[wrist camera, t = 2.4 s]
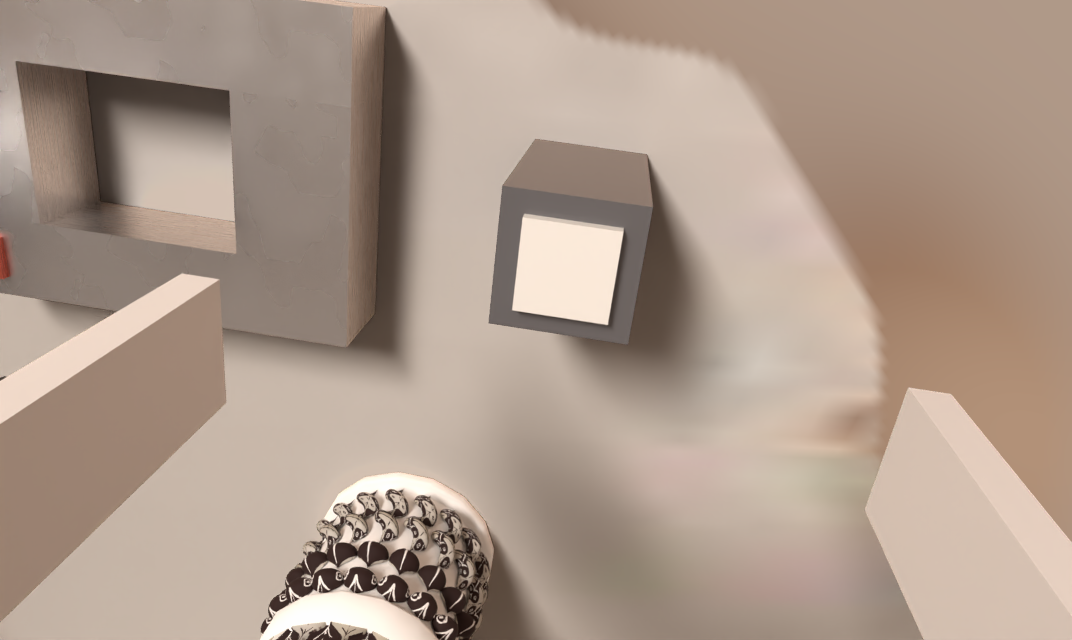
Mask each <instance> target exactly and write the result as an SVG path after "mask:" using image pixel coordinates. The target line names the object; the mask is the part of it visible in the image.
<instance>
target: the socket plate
mask: <svg viewBox="0 0 1072 640" xmlns="http://www.w3.org/2000/svg"><path fill="white" fill-rule="evenodd" d="M385 16H386V7H382V6H374V5H366V4H359V3H351V2H343V1H336V0H0V293H5V294H11V295H18V296H24V297H30V298H37V299H43V300H49V301H55V302H62V303H68V304H74V305H81V306H87V307H93V308H100V309H106V310H112V311H119V310H121V309H123V308H124V307H126V306H128V305H129V304H131V303H133V302H134V301H136V300H138V299H139V298H141V297H143V296H145V295H146V294H148V293H150V292H151V291H153V290H155V289H156V288H158V287H160V286H161V285H163V284H165V283H167V282H168V281H170V280H172V279H173V278H175V277H177V276H178V275H180V274H188V275H195V276H201V277H208V278H214V279H220V298H221V316H222V328H226V329H232V330H238V331H245V332H251V333H257V334H264V335H270V336H276V337H283V338H289V339H295V340H301V341H308V342H314V343H320V344H327V345H333V346H339V347H346V348H347V346H348V345H349V344H350V343H351V342H352V340H353V339H354V338H355V337H356V336H357V334H358V333H359V332H360V331H361V329H362V328H363V327H364V326H365V325H366V323H367V322H368V321H369V320H370V319H371V317H372V316H373V315H374V314H375V301H376V273H377V244H378V216H379V187H380V159H381V130H382V102H383V73H384V45H385ZM85 71H92V72H99V73H107V74H114V75H121V76H128V77H135V78H143V79H150V80H157V81H164V82H171V83H178V84H186V85H193V86H200V87H207V88H214V89H222V90H229V93H230V116H231V140H232V163H233V186H234V209H235V222H233V221H226V220H220V219H213V218H206V217H200V216H193V215H186V214H180V213H173V212H166V211H160V210H153V209H146V208H140V207H133V206H126V205H119V204H113V203H106V202H100V194H99V185H98V177H97V168H96V159H95V151H94V142H93V133H92V124H91V116H90V107H89V98H88V90H87V81H86V72H85Z"/></svg>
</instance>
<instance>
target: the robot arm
mask: <svg viewBox="0 0 1072 640" xmlns="http://www.w3.org/2000/svg"><path fill="white" fill-rule="evenodd" d="M225 403H226V389H225V371H224V352H223V334H222V316H221V298H220V279H214V278H208V277H201V276H195V275H188V274H180V275H178V276H177V277H175V278H173V279H172V280H170V281H168V282H167V283H165V284H163V285H161V286H160V287H158V288H156V289H155V290H153V291H151V292H150V293H148V294H146V295H145V296H143V297H141V298H139V299H138V300H136V301H134V302H133V303H131V304H129V305H128V306H126V307H124V308H123V309H121V310H119V311H117V312H116V313H114V314H112V315H111V316H109V317H107V318H106V319H104V320H102V321H101V322H99V323H97V324H96V325H94V326H92V327H90V328H89V329H87V330H85V331H84V332H82V333H80V334H79V335H77V336H75V337H74V338H72V339H70V340H68V341H67V342H65V343H63V344H62V345H60V346H58V347H57V348H55V349H53V350H52V351H50V352H48V353H46V354H45V355H43V356H41V357H40V358H38V359H36V360H35V361H33V362H31V363H30V364H28V365H26V366H25V367H23V368H21V369H19V370H18V371H16V372H14V373H13V374H11V375H9V376H8V377H5V376H4V377H1V378H0V622H1V621H2V620H3V619H4V618H5V617H6V616H7V615H8V614H9V613H10V612H11V611H12V610H13V609H14V608H15V607H16V606H17V605H18V604H19V603H20V602H21V601H23V600H24V599H25V598H26V597H27V596H28V595H29V594H30V593H31V592H32V591H33V590H34V589H35V588H36V587H37V586H38V585H39V584H40V583H41V582H42V581H43V580H44V579H45V578H46V577H47V576H48V575H49V574H50V573H51V572H52V571H53V570H54V569H55V568H56V567H58V566H59V565H60V564H61V563H62V562H63V561H64V560H65V559H66V558H67V557H68V556H69V555H70V554H71V553H72V552H73V551H74V550H75V549H76V548H77V547H78V546H79V545H80V544H81V543H82V542H83V541H84V540H85V539H86V538H87V537H88V536H89V535H90V534H91V533H92V532H94V531H95V530H96V529H97V528H98V527H99V526H100V525H101V524H102V523H103V522H104V521H105V520H106V519H107V518H108V517H109V516H110V515H111V514H112V513H113V512H114V511H115V510H116V509H117V508H118V507H119V506H120V505H121V504H122V503H123V502H124V501H125V500H126V499H127V498H129V497H130V496H131V495H132V494H133V493H134V492H135V491H136V490H137V489H138V488H139V487H140V486H141V485H142V484H143V483H144V482H145V481H146V480H147V479H148V478H149V477H150V476H151V475H152V474H153V473H154V472H155V471H156V470H157V469H158V468H159V467H160V466H161V465H162V464H164V463H165V462H166V461H167V460H168V459H169V458H170V457H171V456H172V455H173V454H174V453H175V452H176V451H177V450H178V449H179V448H180V447H181V446H182V445H183V444H184V443H185V442H186V441H187V440H188V439H189V438H190V437H191V436H192V435H193V434H194V433H195V432H196V431H197V430H199V429H200V428H201V427H202V426H203V425H204V424H205V423H206V422H207V421H208V420H209V419H210V418H211V417H212V416H213V415H214V414H215V413H216V412H217V411H218V410H219V409H220V408H221V407H222V406H223V405H224V404H225ZM865 512H866V514H867V516H868V518H869V521H870V523H871V525H872V527H873V529H874V532H875V534H876V536H877V538H878V540H879V543H880V545H881V547H882V549H883V551H884V554H885V556H886V558H887V560H888V562H889V565H890V567H891V569H892V571H893V573H894V576H895V578H896V580H897V582H898V584H899V587H900V589H901V591H902V593H903V595H904V598H905V600H906V602H907V604H908V606H909V609H910V611H911V613H912V615H913V617H914V620H915V622H916V624H917V626H918V628H919V631H920V633H921V635H922V637H923V639H924V640H1072V543H1071V541H1070V540H1069V539H1068V538H1067V537H1066V535H1065V534H1064V533H1063V531H1062V530H1061V529H1060V528H1059V527H1058V525H1057V524H1056V523H1055V522H1054V520H1052V518H1051V517H1050V515H1049V514H1048V513H1047V512H1046V511H1045V509H1044V508H1043V507H1042V506H1041V504H1040V503H1039V502H1038V501H1037V499H1036V498H1035V497H1034V496H1033V494H1032V493H1031V492H1030V491H1029V490H1028V488H1027V487H1026V486H1025V485H1024V484H1023V482H1022V481H1021V480H1020V478H1019V477H1018V476H1017V475H1016V473H1015V472H1014V471H1013V470H1012V469H1011V467H1010V466H1009V465H1008V464H1007V462H1006V461H1005V460H1004V459H1003V458H1002V457H1001V455H1000V454H999V453H998V452H997V450H996V449H995V448H994V446H993V445H992V444H991V443H990V441H989V440H988V439H987V438H986V437H985V435H984V434H983V433H982V432H981V430H980V429H979V428H978V427H977V425H976V424H975V423H974V422H973V421H972V419H971V418H970V417H969V416H968V414H966V412H965V411H964V409H963V408H962V407H961V406H960V405H959V404H958V402H957V401H956V400H955V398H954V397H953V396H952V395H951V394H947V393H939V392H934V391H927V390H921V389H914V388H908V390H907V392H906V395H905V398H904V401H903V404H902V407H901V409H900V412H899V415H898V418H897V421H896V423H895V426H894V429H893V432H892V434H891V437H890V440H889V443H888V446H887V448H886V451H885V454H884V457H883V460H882V463H881V465H880V468H879V471H878V474H877V477H876V479H875V482H874V485H873V488H872V491H871V493H870V496H869V499H868V502H867V505H866V507H865Z"/></svg>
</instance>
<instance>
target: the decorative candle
mask: <svg viewBox="0 0 1072 640" xmlns="http://www.w3.org/2000/svg"><path fill="white" fill-rule="evenodd" d="M317 530H318V531H319V532H320V535H321V536H322V537H323V538H322V541H321V542H317V541H309V542H307V543H306V544H305V545H304V546H303V553H304V554H305V555H306V557H305V558H304V560H303V562H302V563H299V564H297V565H296V567H295V569H293V570H291V571H290V572H289V573H288V575H287V577H286V580H285V585H286V590H284V591H282V593H281V594H279V595H277V596H276V597H274V598H273V600H272V601H271V602H270V605H269V608H268V613H269V617H268V618H266V619H265V620H264V622H263V624H262V626H261V635H262V637H261V639H260V640H471V637H472V634H473V633H475V632H476V631H477V630H478V628H479V627H480V624H481V622H482V617H483V610H482V605H483V604H484V602H485V601H486V598H487V596H488V581H489V577H490V572H491V566H492V560H493V554H494V547H493V544H492V541H491V538H490V534H489V531H488V528H487V525H486V522H485V520H484V519H483V518H482V517H481V516H480V514H479V513H478V512H477V511H476V510H475V509H474V507H473V506H472V505H471V504H470V503H469V502H468V500H467V499H466V498H465V497H464V496H463V495H461V494H459V493H457V492H456V491H454V490H452V489H450V488H449V487H447V486H445V485H443V484H442V483H440V482H438V481H436V480H435V479H432V478H427V477H422V476H417V475H412V474H407V473H402V472H393V473H387V474H380V475H373V476H366V477H364V478H362V479H361V480H359V481H357V482H356V483H354V484H353V485H351V486H349V487H348V488H346V489H344V490H343V491H341V492H340V493H339V495H338V496H337V498H336V500H335V501H334V503H333V504H332V506H331V508H330V509H329V511H328V513H327V514H326V516H325V518H324V519H323V520H320V521H319V522H318V524H317Z"/></svg>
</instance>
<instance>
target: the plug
mask: <svg viewBox="0 0 1072 640" xmlns="http://www.w3.org/2000/svg"><path fill="white" fill-rule="evenodd" d="M652 211H653V202H652V193H651V185H650V176H649V167H648V159H647V154H640V153H633V152H626V151H619V150H612V149H605V148H597V147H590V146H583V145H576V144H569V143H562V142H554V141H547V140H540V139H535V140H534V142H533V143H532V145H531V146H530V147H529V149H528V150H527V152H526V153H525V154H524V156H523V157H522V159H521V160H520V162H519V163H518V164H517V166H516V167H515V169H514V170H513V171H512V173H511V174H510V176H509V177H508V179H507V180H506V181H505V183H504V184H503V186H502V195H501V205H500V215H499V225H498V235H497V245H496V255H495V265H494V275H493V285H492V295H491V304H490V314H489V323H491V324H497V325H504V326H510V327H516V328H523V329H529V330H536V331H542V332H549V333H555V334H562V335H568V336H575V337H581V338H587V339H594V340H600V341H607V342H613V343H620V344H626V345H628V341H629V336H630V331H631V325H632V320H633V314H634V309H635V303H636V298H637V292H638V287H639V282H640V276H641V271H642V265H643V260H644V254H645V249H646V243H647V238H648V232H649V227H650V222H651V216H652Z"/></svg>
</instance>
